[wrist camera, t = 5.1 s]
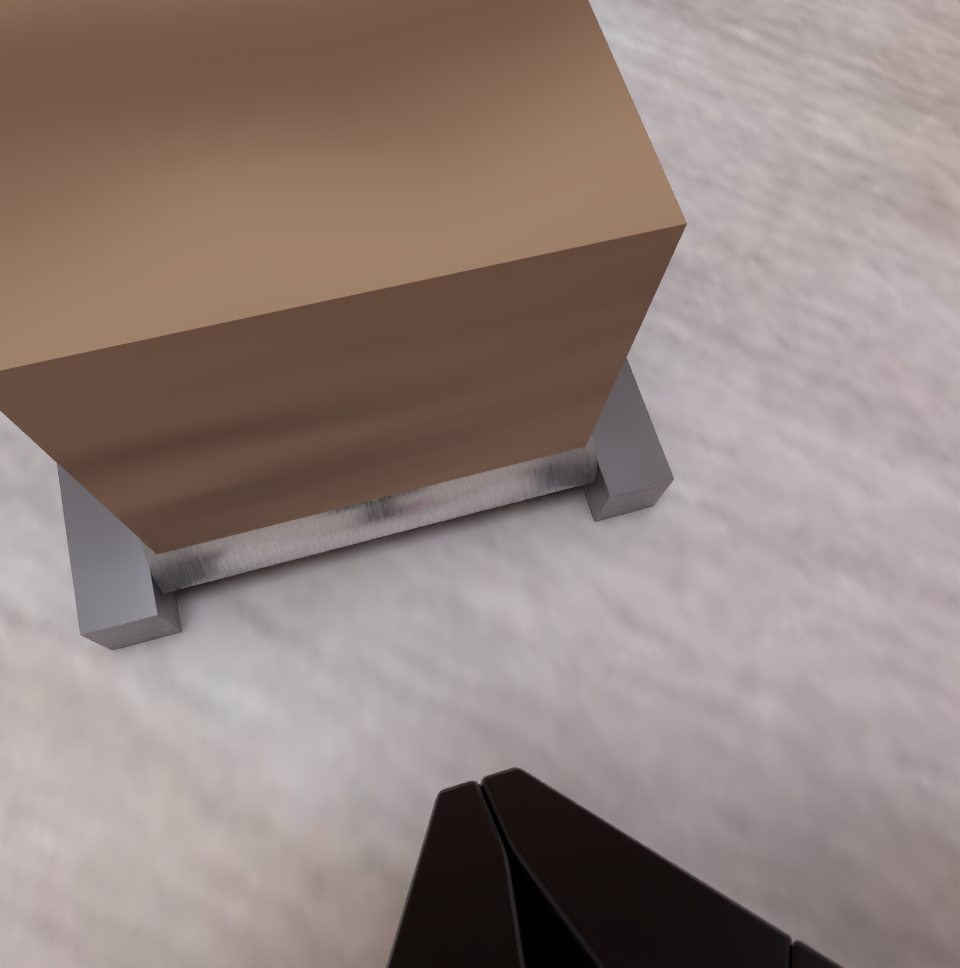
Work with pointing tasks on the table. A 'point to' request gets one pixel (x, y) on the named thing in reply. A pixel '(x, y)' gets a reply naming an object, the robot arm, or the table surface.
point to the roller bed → (344, 523)
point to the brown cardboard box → (314, 247)
